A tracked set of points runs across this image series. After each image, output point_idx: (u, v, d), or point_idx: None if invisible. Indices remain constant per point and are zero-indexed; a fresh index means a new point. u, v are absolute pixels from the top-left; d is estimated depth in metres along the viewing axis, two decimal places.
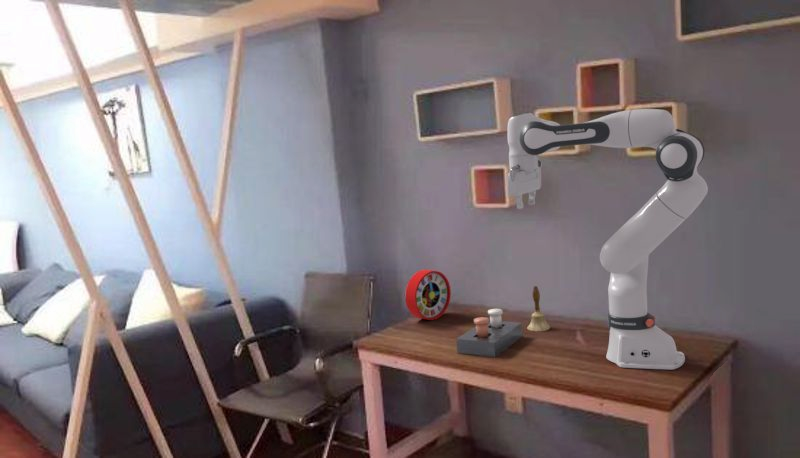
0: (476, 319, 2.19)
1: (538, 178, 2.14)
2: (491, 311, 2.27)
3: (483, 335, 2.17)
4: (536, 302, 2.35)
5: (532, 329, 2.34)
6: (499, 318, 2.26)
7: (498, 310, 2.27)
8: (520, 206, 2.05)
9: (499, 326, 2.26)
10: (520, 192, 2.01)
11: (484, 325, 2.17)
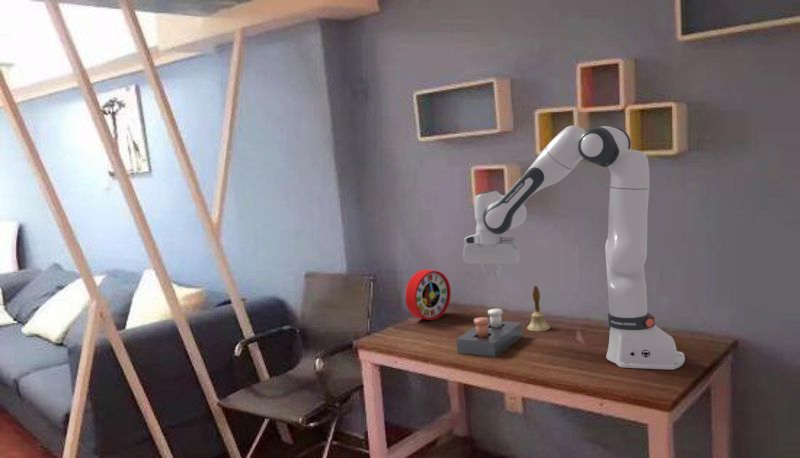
0: (476, 319, 2.19)
1: None
2: (491, 311, 2.27)
3: (483, 335, 2.17)
4: (536, 302, 2.35)
5: (532, 329, 2.34)
6: (499, 318, 2.26)
7: (498, 310, 2.27)
8: (499, 273, 2.24)
9: (499, 326, 2.26)
10: None
11: (484, 325, 2.17)
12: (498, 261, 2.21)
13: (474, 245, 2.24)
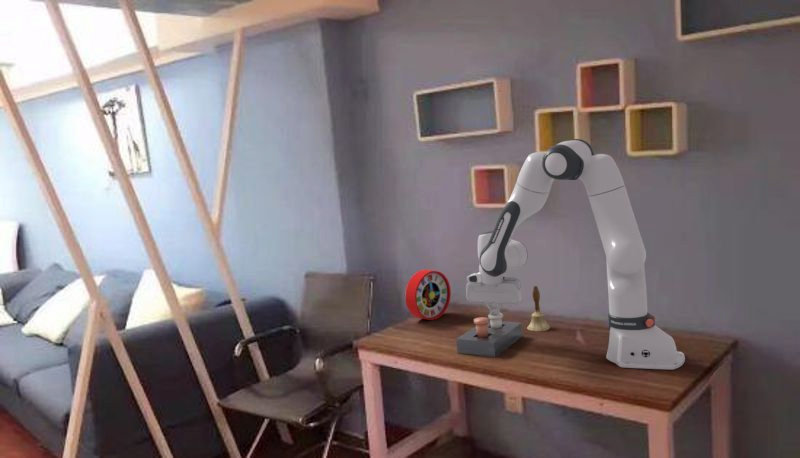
0: (476, 319, 2.19)
1: None
2: (491, 315, 2.27)
3: (483, 335, 2.17)
4: (536, 302, 2.35)
5: (532, 329, 2.34)
6: (499, 322, 2.26)
7: (499, 314, 2.28)
8: (498, 312, 2.27)
9: None
10: None
11: (484, 325, 2.17)
12: (501, 300, 2.23)
13: (477, 284, 2.26)
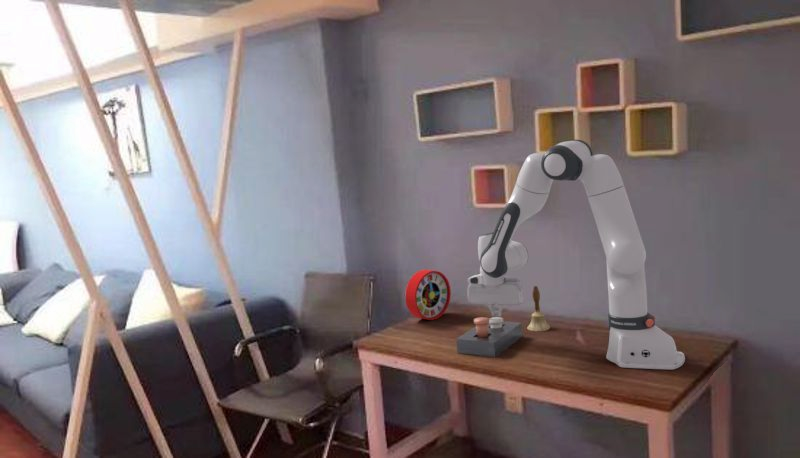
0: (476, 319, 2.19)
1: None
2: (492, 320, 2.27)
3: (483, 335, 2.17)
4: (536, 302, 2.35)
5: (532, 329, 2.34)
6: (500, 327, 2.26)
7: (499, 318, 2.28)
8: (500, 313, 2.27)
9: None
10: None
11: (484, 325, 2.17)
12: (502, 302, 2.23)
13: (478, 285, 2.26)
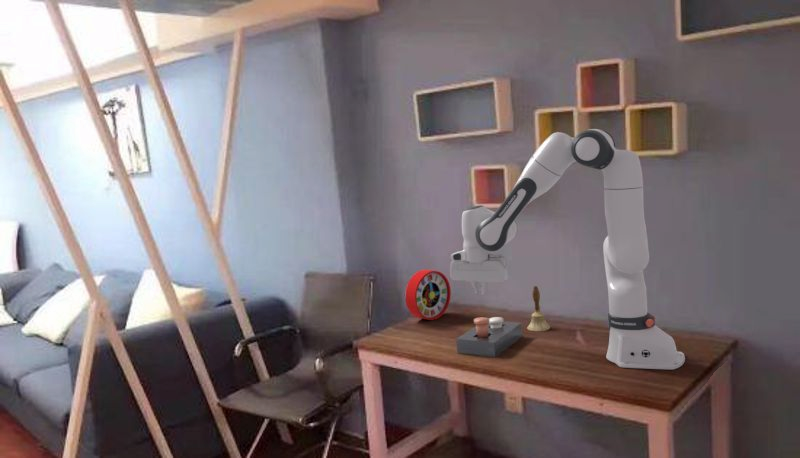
0: (476, 319, 2.19)
1: None
2: (492, 320, 2.27)
3: (483, 335, 2.17)
4: (536, 302, 2.35)
5: (532, 329, 2.34)
6: (500, 327, 2.26)
7: (499, 318, 2.28)
8: (484, 291, 2.17)
9: None
10: None
11: (484, 325, 2.17)
12: (486, 279, 2.13)
13: (461, 262, 2.16)
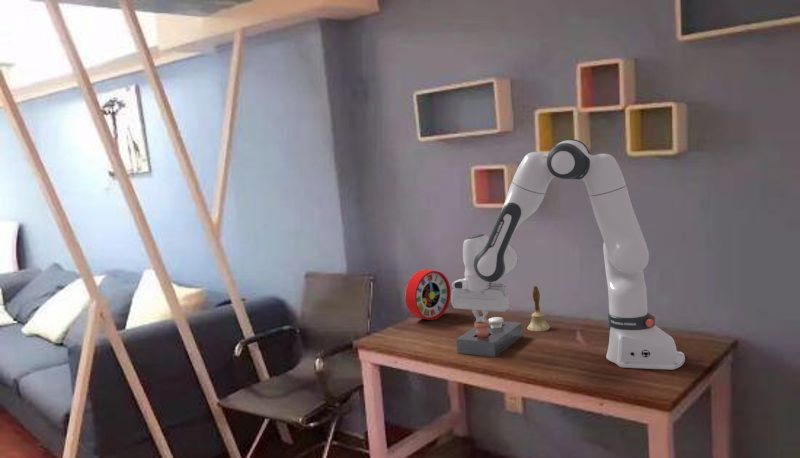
0: (476, 322, 2.19)
1: None
2: (492, 320, 2.27)
3: None
4: (536, 302, 2.35)
5: (532, 329, 2.34)
6: (500, 327, 2.26)
7: (499, 318, 2.28)
8: (485, 320, 2.18)
9: None
10: None
11: (484, 328, 2.17)
12: (487, 308, 2.14)
13: (462, 290, 2.17)
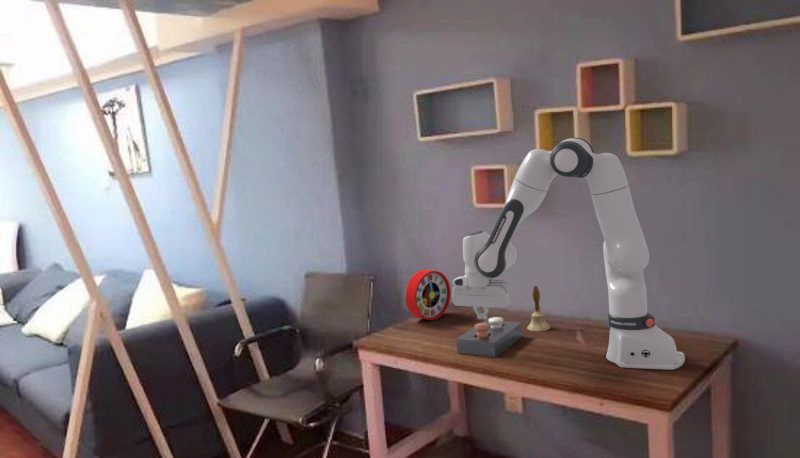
0: (476, 325, 2.19)
1: None
2: (492, 320, 2.27)
3: None
4: (536, 302, 2.35)
5: (532, 329, 2.34)
6: (500, 327, 2.26)
7: (499, 318, 2.28)
8: (486, 316, 2.17)
9: None
10: None
11: (484, 331, 2.17)
12: (488, 304, 2.14)
13: (463, 287, 2.17)
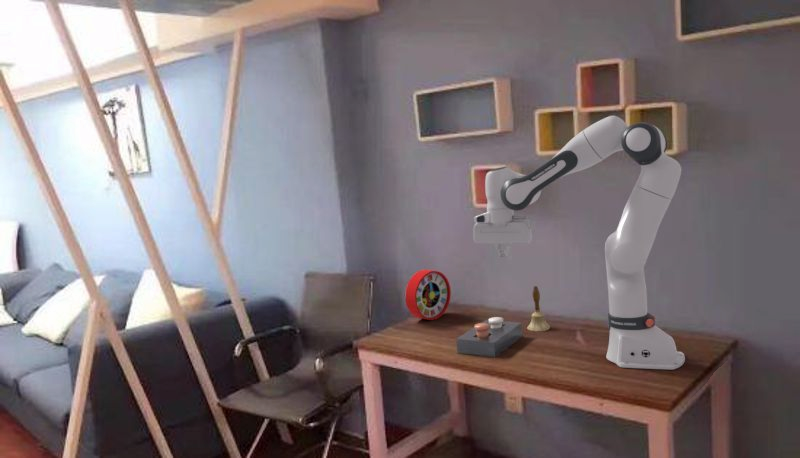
0: (476, 325, 2.19)
1: None
2: (492, 320, 2.27)
3: None
4: (536, 302, 2.35)
5: (532, 329, 2.34)
6: (500, 327, 2.26)
7: (499, 318, 2.28)
8: (507, 254, 2.16)
9: None
10: None
11: (484, 331, 2.17)
12: (510, 241, 2.13)
13: (485, 224, 2.16)
